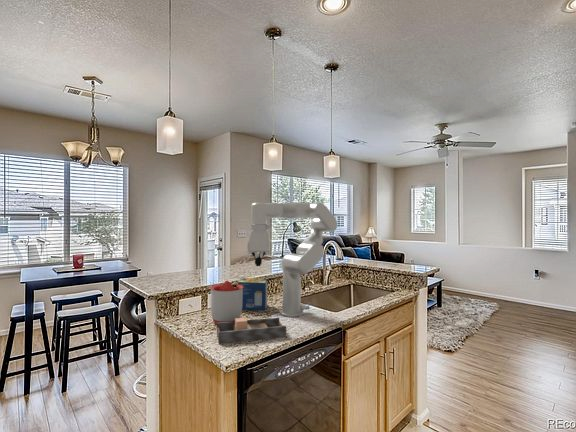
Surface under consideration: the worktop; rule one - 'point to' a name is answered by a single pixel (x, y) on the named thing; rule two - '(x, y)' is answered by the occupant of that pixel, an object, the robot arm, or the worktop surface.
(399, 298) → the worktop surface
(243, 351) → the worktop surface
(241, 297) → the citrus juicer
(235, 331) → the box
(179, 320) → the worktop surface
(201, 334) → the worktop surface
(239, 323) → the terracotta block
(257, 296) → the protein box
